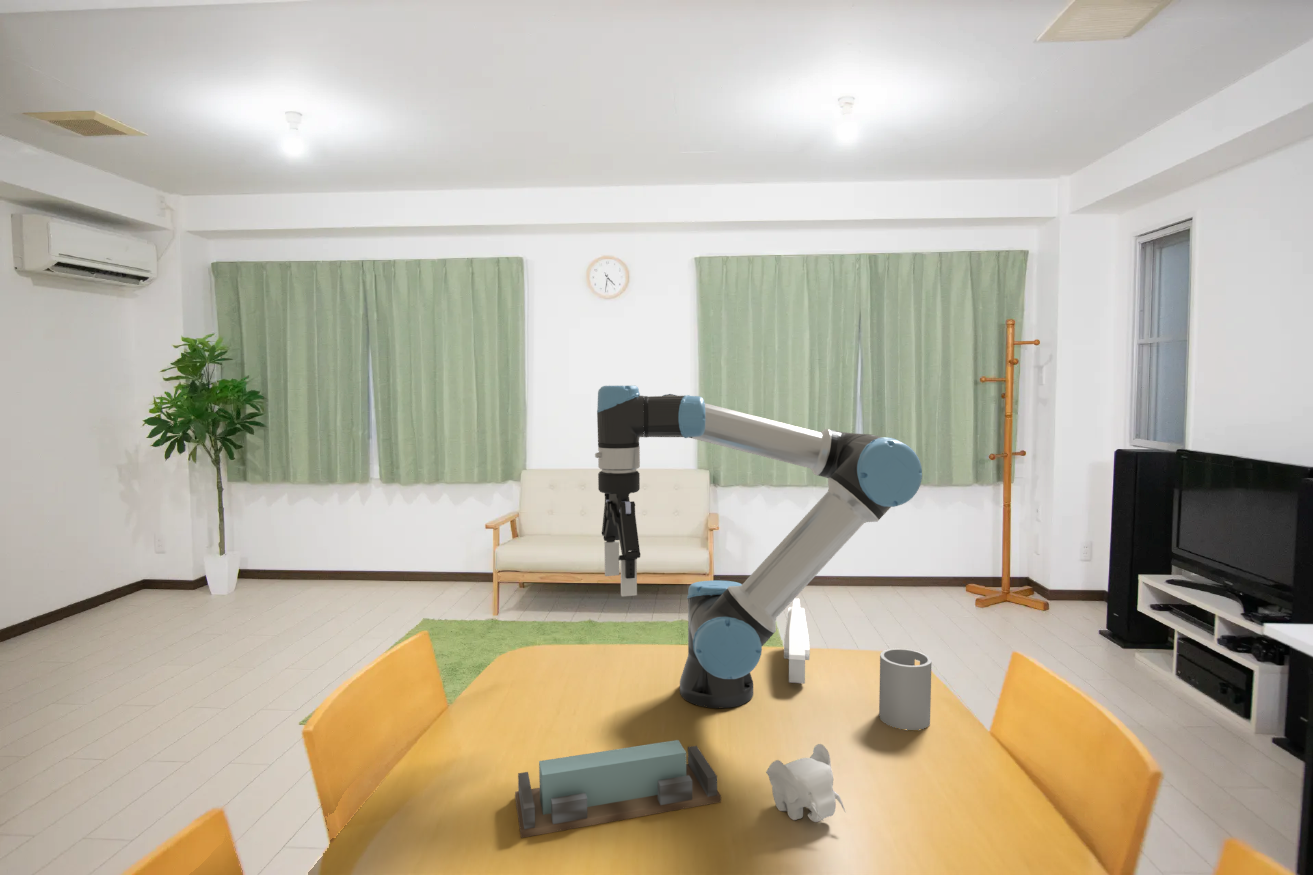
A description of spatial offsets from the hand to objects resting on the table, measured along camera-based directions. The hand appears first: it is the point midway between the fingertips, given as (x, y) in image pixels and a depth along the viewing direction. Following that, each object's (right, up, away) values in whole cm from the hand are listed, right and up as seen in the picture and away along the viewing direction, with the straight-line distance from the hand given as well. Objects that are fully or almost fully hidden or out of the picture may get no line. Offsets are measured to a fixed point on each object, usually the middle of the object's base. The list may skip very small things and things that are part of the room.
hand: (620, 584), depth 129 cm
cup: (+54, -26, +4) cm, 60 cm away
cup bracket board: (+1, -28, -22) cm, 36 cm away
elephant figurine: (+29, -29, -25) cm, 48 cm away
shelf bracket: (+38, -25, +30) cm, 55 cm away
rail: (0, -27, -22) cm, 35 cm away
